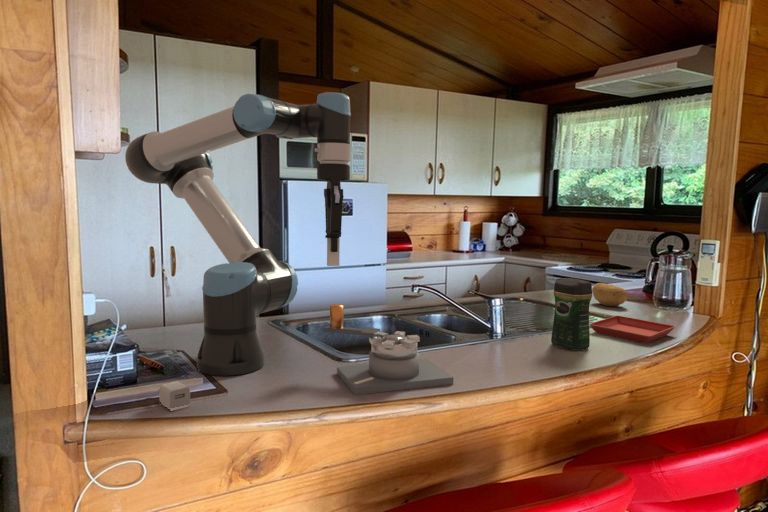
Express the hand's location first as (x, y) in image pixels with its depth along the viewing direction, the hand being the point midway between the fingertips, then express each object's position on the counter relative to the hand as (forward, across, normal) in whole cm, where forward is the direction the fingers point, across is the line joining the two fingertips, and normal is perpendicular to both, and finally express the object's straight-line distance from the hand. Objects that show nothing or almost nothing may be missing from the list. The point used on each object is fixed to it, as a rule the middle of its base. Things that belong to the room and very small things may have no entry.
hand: (333, 265), depth 130 cm
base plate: (+23, +14, +12) cm, 29 cm away
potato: (+24, -51, +111) cm, 125 cm away
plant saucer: (+24, -12, +91) cm, 95 cm away
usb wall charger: (+24, +20, -34) cm, 46 cm away
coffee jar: (+24, -3, +65) cm, 69 cm away
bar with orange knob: (+18, +11, +7) cm, 22 cm away
